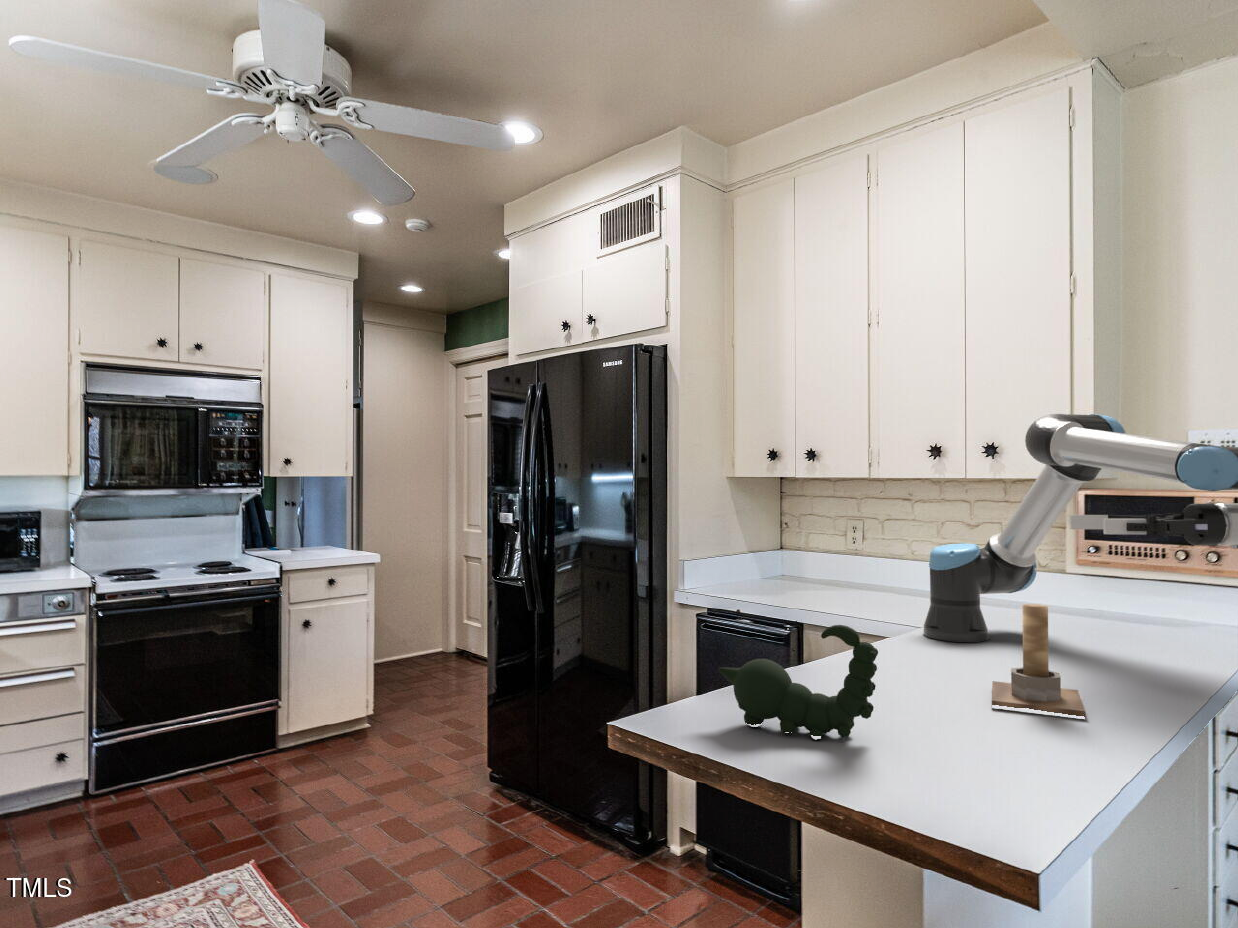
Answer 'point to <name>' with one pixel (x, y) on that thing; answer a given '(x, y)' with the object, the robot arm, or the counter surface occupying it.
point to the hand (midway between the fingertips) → (1086, 524)
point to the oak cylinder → (1035, 640)
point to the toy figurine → (806, 691)
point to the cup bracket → (1037, 694)
